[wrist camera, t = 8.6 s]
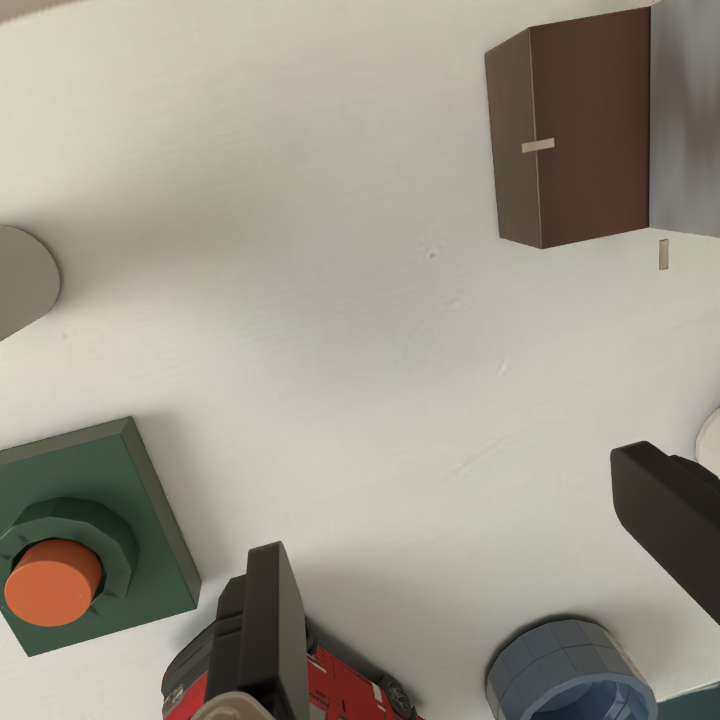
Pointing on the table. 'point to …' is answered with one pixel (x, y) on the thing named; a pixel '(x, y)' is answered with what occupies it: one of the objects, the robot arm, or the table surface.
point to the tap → (685, 117)
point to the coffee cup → (709, 443)
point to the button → (53, 582)
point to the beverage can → (24, 280)
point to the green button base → (95, 530)
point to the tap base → (573, 129)
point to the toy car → (325, 682)
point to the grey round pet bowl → (568, 677)
